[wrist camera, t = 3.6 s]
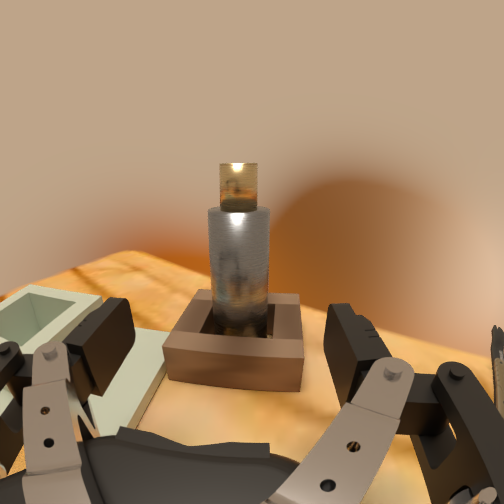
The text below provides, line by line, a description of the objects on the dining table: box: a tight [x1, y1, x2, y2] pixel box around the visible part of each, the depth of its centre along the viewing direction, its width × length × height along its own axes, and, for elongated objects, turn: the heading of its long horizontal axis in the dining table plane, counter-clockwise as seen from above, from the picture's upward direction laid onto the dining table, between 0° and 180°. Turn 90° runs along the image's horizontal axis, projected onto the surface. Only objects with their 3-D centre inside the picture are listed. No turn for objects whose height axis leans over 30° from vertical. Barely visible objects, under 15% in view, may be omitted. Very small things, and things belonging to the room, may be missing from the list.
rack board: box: [0, 284, 170, 436], centre depth 16 cm, size 20×14×5 cm
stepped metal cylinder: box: [208, 163, 270, 338], centre depth 19 cm, size 4×4×14 cm
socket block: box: [162, 289, 304, 392], centre depth 21 cm, size 9×9×3 cm
